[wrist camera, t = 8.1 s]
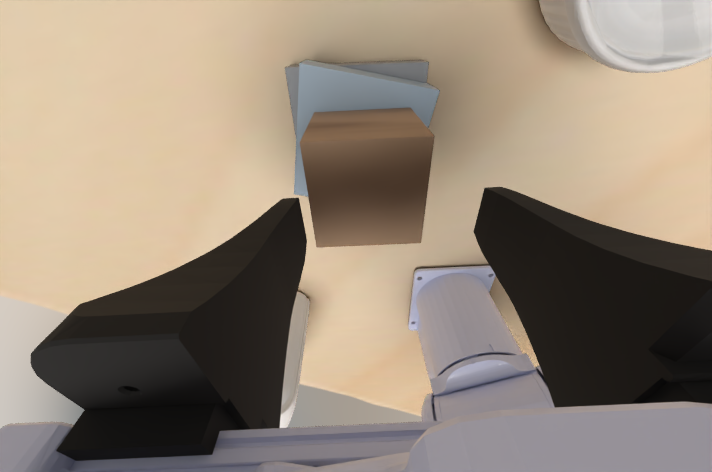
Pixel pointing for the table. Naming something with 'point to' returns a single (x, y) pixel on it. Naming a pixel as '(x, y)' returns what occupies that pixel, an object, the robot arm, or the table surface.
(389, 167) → the walnut cube
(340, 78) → the tower top
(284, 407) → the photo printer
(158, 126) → the table surface
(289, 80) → the tower base
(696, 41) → the ramekin
